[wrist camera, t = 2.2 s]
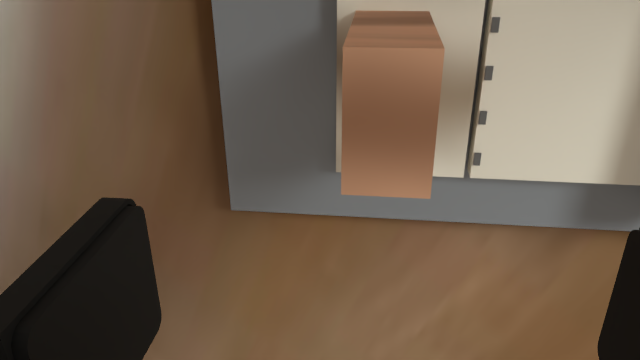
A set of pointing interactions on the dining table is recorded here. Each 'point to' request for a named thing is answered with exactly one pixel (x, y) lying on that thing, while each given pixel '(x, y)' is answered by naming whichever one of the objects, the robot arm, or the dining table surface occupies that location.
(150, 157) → the dining table surface
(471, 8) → the stub
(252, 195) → the holder
